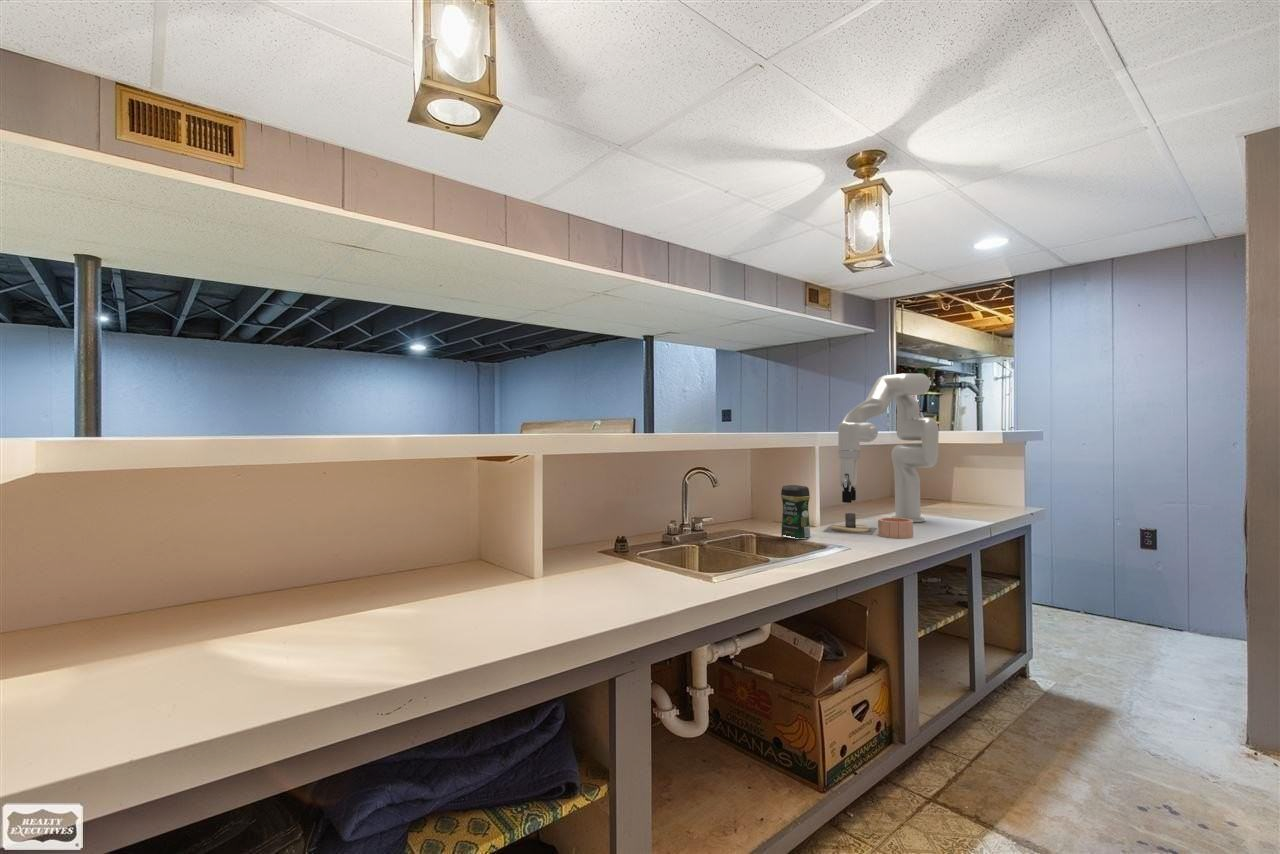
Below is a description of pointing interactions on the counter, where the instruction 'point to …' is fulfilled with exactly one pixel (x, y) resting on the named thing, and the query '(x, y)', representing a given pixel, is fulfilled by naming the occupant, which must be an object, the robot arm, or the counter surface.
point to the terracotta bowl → (895, 527)
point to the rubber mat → (851, 533)
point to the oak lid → (850, 525)
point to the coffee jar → (795, 511)
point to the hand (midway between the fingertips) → (849, 501)
